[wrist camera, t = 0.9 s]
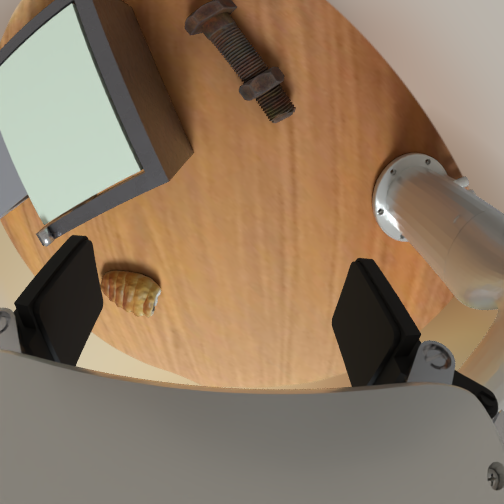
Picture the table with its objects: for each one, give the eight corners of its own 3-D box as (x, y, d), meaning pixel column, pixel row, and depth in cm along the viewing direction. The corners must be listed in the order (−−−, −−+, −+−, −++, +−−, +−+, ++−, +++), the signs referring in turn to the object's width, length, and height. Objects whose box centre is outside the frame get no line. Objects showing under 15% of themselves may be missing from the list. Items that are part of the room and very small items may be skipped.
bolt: (275, 117, 33) (204, 21, 26) (310, 100, 30) (235, -3, 23) (256, 136, 29) (174, 27, 23) (296, 117, 26) (207, -2, 19)
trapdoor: (101, 15, 19) (71, 3, 14) (160, 155, 27) (140, 170, 22) (-19, 121, 22) (-50, 131, 17) (29, 230, 31) (3, 253, 25)
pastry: (103, 292, 43) (94, 307, 40) (106, 258, 40) (96, 272, 37) (156, 311, 45) (151, 327, 42) (164, 278, 42) (158, 294, 39)
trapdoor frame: (131, 7, 23) (78, -25, 12) (193, 152, 33) (165, 185, 22) (34, 75, 26) (-34, 82, 14) (90, 203, 36) (37, 251, 24)
